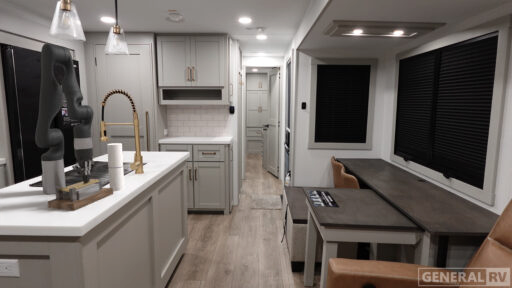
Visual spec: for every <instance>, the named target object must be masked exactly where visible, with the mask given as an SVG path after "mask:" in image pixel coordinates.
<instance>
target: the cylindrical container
mask: <svg viewBox="0 0 512 288" xmlns="http://www.w3.org/2000/svg"><path fill="white" fill-rule="evenodd" d="M106 147H107V148H106V149H107V164H108V165H107V166H108V179H109V188H113V192H118V191H122V190H124V189H125V175H124V160H123V159H124V158H123V157H124V156H123V143H120V142H115V143H114V142H113V143H107V144H106Z"/></svg>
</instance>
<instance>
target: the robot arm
mask: <svg viewBox="0 0 512 288" xmlns="http://www.w3.org/2000/svg"><path fill="white" fill-rule="evenodd" d="M40 65H41V66H40V68H41V69H40V70H41V79H40V92H39V107H38V108H39V109H38V117H37V123H36V127H35V134H34V142H35V144H36V145H37V147H38V148H41V149H44V148H46V149H47V148H49V150H48V151H47V152H45V153H43V154H42V155H41V157H40V160H41V169H42V174H41V183H42V192H43V193H44V194H46V195H54V194H55V195H56V191H55V187H59V186H61V187H62V188H64V187H67V186H66V175H65V174H66V173H65V164H64V163H65V162H64V155H65V139H64V138H65V137H64V134H63V132H62V130H61V129H59V128H51V123H52V121H53V119H55V117H56V115H57V114H58V112H60V110H61V109H62V106H63V101H64V98H65V100H66V113H67V115H66V116H67V117H68V118H69V119H70V120H72V121H81V123H80V124H78V125H75V126H73V129H72V131H73V148H74V157H75V159H76V161H75V165H72V167H71V168H72V169H73V170H74V172H76V174H77V175H79V176H82V181H83V182H86V183H87V182H89V180H90V179H91V178H90V175H91V173H93V172H94V170H95V167H96V166H97V163H98V162H97V161H96V160H94V158H93V156H94V146H93V140H92V131H91V129H92V126H93V125H92V124H93V120H94V115H95V114H94V110H93V107H92V106H90V105H87V104H80V103H81V102H83V101H84V96H83V93H82V90H81V88H80V86H79V83H78V79H77V74H76V69H75V64H74V61H73V56H72V53H71V51H70V50H69V48H67V47H65V46H61V45H59V44H58V45H57V44H52V43H44V44H43V45H42V47H41V51H40ZM55 65H56V66H61V67H63V70H64V77H63V79H62V81H61V86H60V84H59V82H58V80H57V79H56V76H55V73H54V66H55Z"/></svg>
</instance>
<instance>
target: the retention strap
mask: <svg viewBox="0 0 512 288" xmlns="http://www.w3.org/2000/svg"><path fill="white" fill-rule="evenodd" d="M99 181H100V180H99V179H97V178H96V179H94V178H90V180H89V182H87V183H86V182H83V180H82V181H80V182H77V183H74V184H69V185H67V186H66V187H64V188H60V189H59V190H60V191H64V192H69V189H70V188H76V189H79V188H82V187H85V186H87V185H90V184H93V183H96V182H99Z"/></svg>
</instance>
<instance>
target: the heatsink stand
mask: <svg viewBox="0 0 512 288" xmlns="http://www.w3.org/2000/svg"><path fill="white" fill-rule="evenodd" d="M60 188H62V187H61V186H59V187H55V191H56V193H55V198H54V199H50V200H48V201H47V208H48V209H54V210H64V211H73V212H74V211H77V210H79V209H82V208H85V207H86V206H89V205H92V204H93V203H95V202H98V201H100V200H103V199H105V198H107V197H109V196H112V195H114V191H113V188H110V187H103V184H102V181H100V180H99V182H96V183H93V184H90V185H87V186H85V187H82V188H79V189H76V188H70V189H69V192H64V191H60V190H59V189H60Z"/></svg>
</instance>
